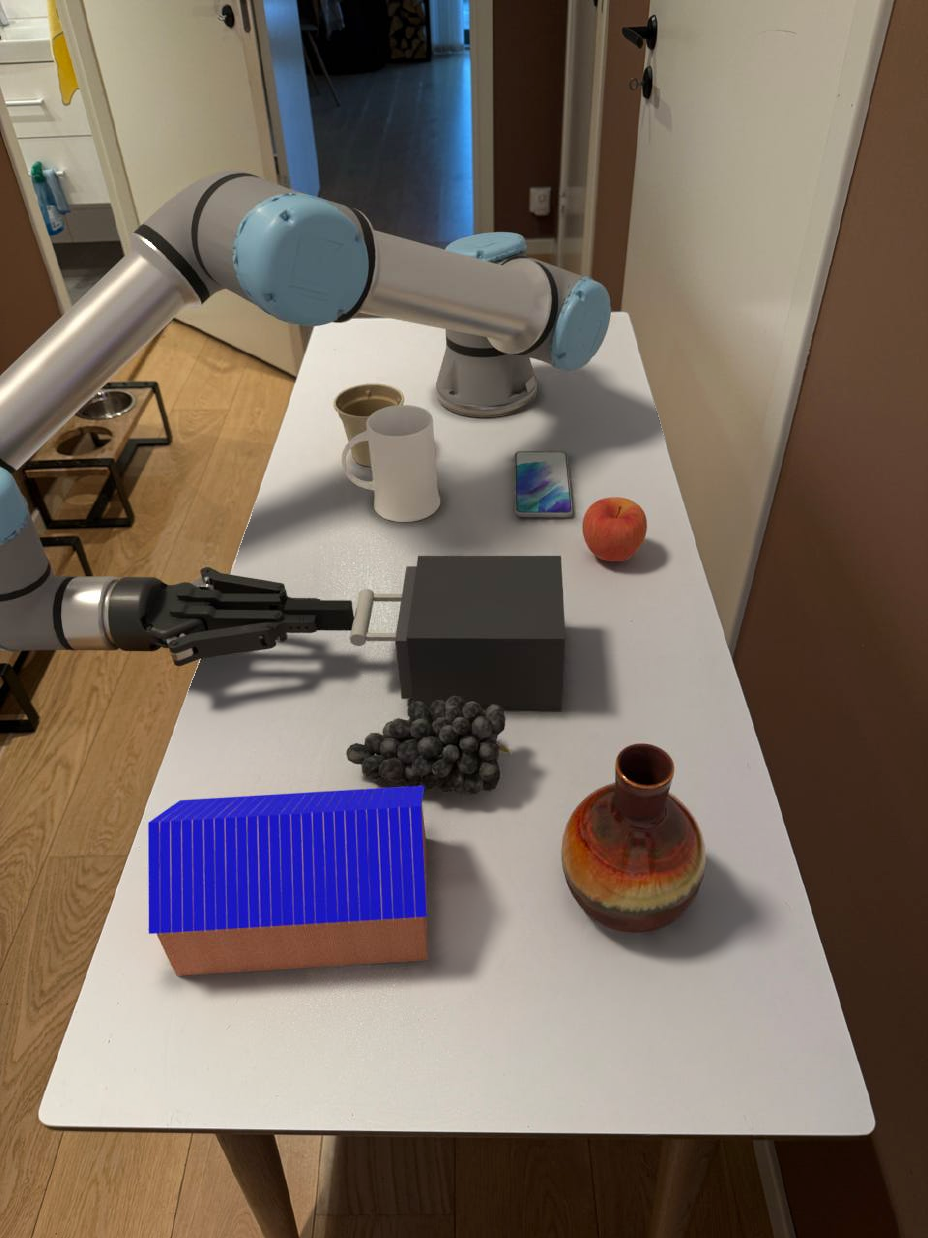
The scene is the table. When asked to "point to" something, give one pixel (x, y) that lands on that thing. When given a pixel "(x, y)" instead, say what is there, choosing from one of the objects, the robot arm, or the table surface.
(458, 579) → the cabinet
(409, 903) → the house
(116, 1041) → the table surface
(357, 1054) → the table surface
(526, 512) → the smartphone
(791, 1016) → the table surface
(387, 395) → the flower pot
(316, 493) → the table surface
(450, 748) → the fruit
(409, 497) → the mug
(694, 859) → the vase
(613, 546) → the apple
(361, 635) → the drawer
